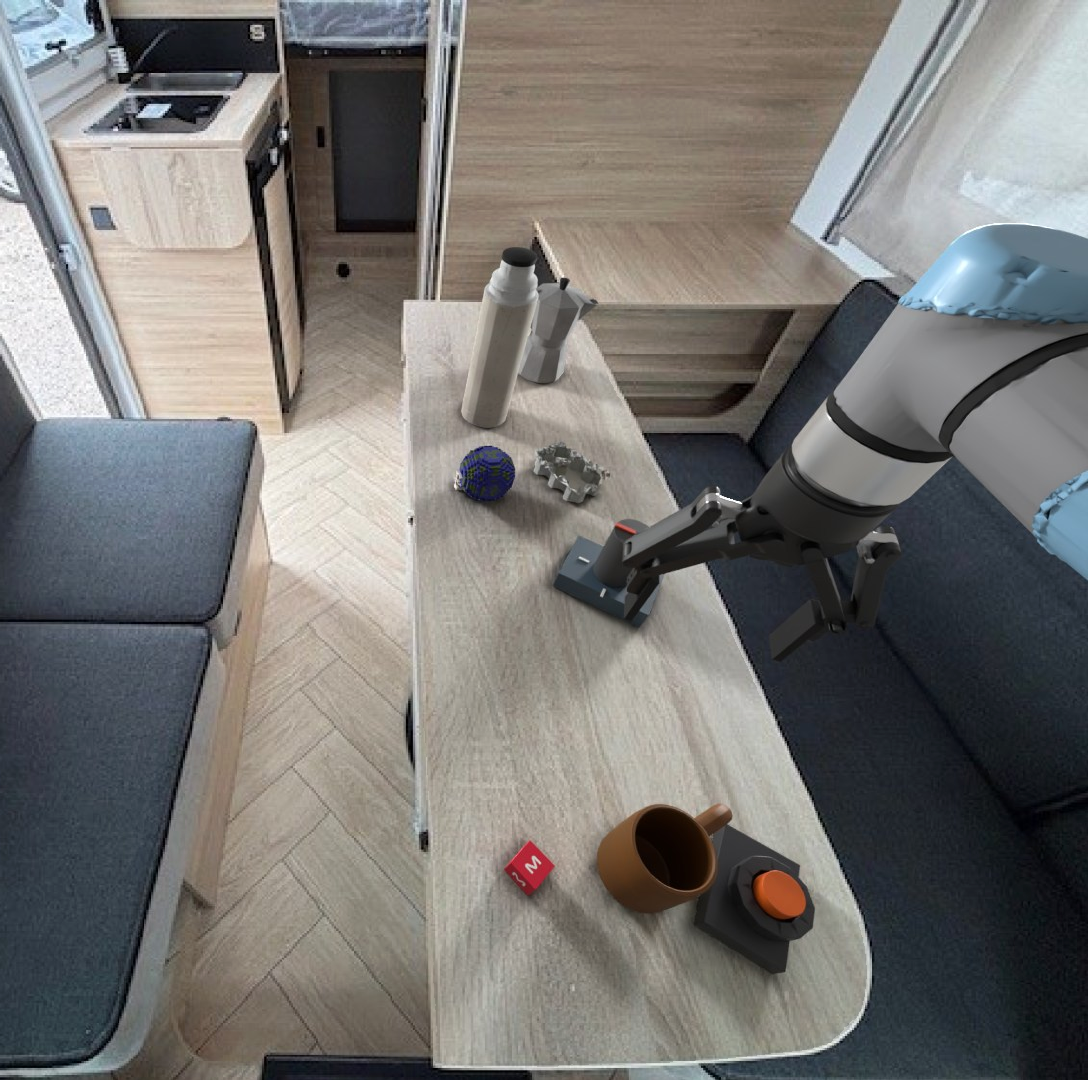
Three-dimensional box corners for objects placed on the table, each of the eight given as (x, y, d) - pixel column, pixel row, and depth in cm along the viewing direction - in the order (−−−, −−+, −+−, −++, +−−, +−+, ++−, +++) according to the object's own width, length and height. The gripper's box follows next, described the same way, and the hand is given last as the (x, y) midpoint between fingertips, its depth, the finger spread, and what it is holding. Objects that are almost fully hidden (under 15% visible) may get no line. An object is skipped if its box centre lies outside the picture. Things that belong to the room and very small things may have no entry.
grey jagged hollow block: (605, 494, 92) (614, 475, 89) (568, 509, 90) (576, 490, 87) (561, 452, 98) (569, 433, 95) (525, 465, 96) (532, 446, 93)
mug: (664, 795, 63) (706, 764, 56) (721, 866, 59) (774, 843, 52) (578, 852, 59) (611, 826, 52) (632, 932, 55) (676, 917, 48)
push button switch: (795, 874, 59) (820, 865, 55) (780, 979, 53) (807, 976, 50) (714, 828, 61) (734, 817, 58) (692, 924, 56) (713, 918, 52)
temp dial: (636, 568, 79) (661, 528, 73) (625, 594, 76) (650, 554, 70) (599, 552, 81) (621, 511, 74) (587, 577, 78) (609, 536, 71)
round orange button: (796, 889, 54) (808, 885, 53) (791, 928, 52) (803, 925, 51) (755, 865, 56) (766, 861, 54) (749, 903, 54) (759, 899, 52)
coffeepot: (574, 362, 115) (605, 271, 102) (572, 390, 110) (605, 297, 96) (495, 349, 118) (516, 258, 104) (489, 375, 112) (510, 283, 98)
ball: (460, 510, 89) (468, 473, 83) (451, 475, 94) (458, 438, 88) (512, 508, 90) (524, 471, 84) (500, 473, 94) (510, 436, 89)
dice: (522, 847, 59) (530, 839, 57) (546, 872, 58) (555, 865, 56) (503, 869, 58) (510, 862, 56) (527, 895, 57) (535, 889, 54)
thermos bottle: (487, 395, 108) (524, 236, 86) (515, 419, 103) (561, 259, 82) (452, 407, 105) (480, 247, 84) (479, 433, 101) (516, 270, 79)
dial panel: (657, 583, 81) (666, 569, 79) (638, 631, 76) (648, 618, 74) (573, 545, 85) (580, 531, 83) (550, 589, 80) (557, 575, 78)
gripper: (1029, 478, 41) (832, 632, 57) (658, 400, 45) (573, 565, 62) (1075, 559, 36) (846, 702, 53) (658, 464, 41) (566, 624, 57)
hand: (699, 628), depth 57 cm, fingers open, 13 cm apart
